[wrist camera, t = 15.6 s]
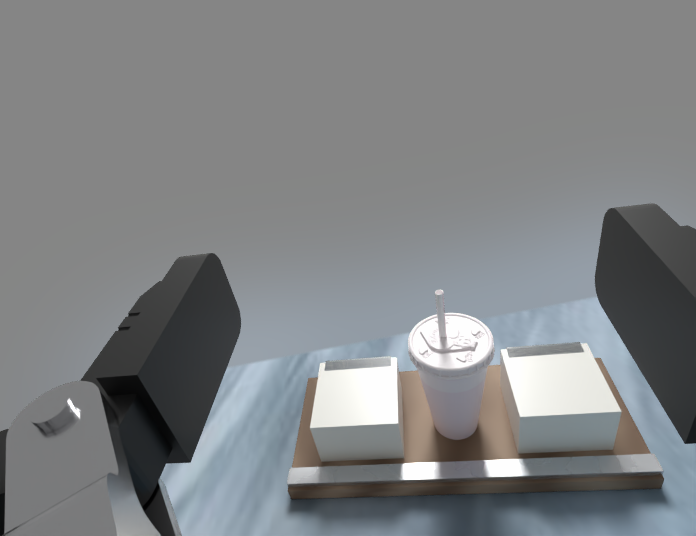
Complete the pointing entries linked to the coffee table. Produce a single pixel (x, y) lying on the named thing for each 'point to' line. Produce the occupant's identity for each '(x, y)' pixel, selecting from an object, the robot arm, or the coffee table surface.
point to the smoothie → (452, 367)
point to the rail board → (483, 445)
